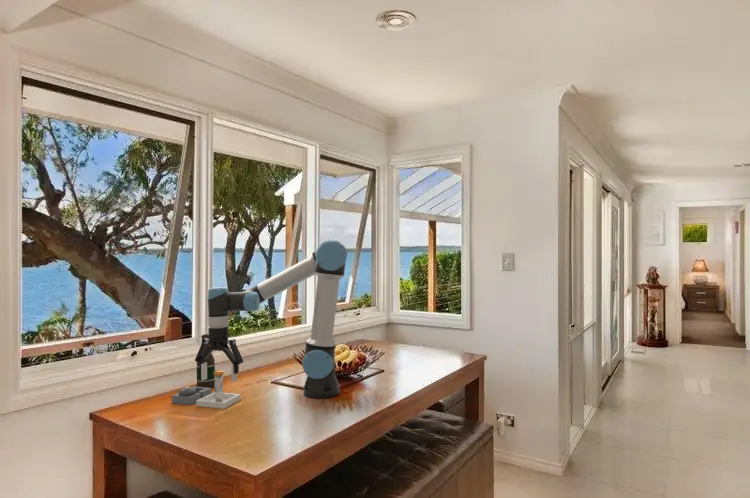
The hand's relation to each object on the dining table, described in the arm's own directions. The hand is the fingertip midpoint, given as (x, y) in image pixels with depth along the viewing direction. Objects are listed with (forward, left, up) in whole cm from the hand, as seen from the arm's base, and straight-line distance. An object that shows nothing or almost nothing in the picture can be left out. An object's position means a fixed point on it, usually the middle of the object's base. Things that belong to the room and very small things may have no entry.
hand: (219, 380), depth 191 cm
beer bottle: (+18, -17, -10) cm, 27 cm away
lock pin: (0, 0, -8) cm, 9 cm away
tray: (0, 0, -9) cm, 10 cm away
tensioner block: (+13, -1, -9) cm, 16 cm away
